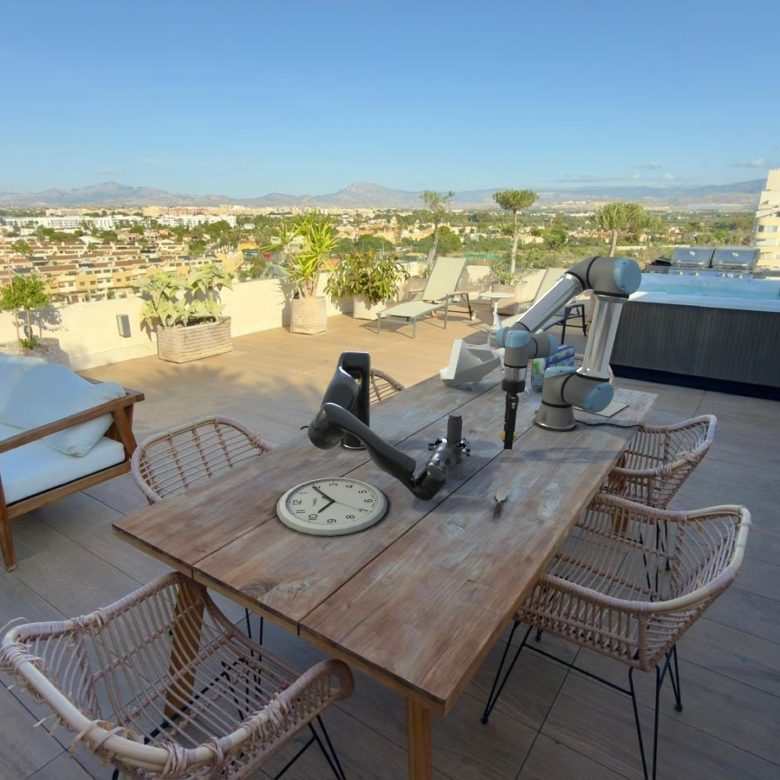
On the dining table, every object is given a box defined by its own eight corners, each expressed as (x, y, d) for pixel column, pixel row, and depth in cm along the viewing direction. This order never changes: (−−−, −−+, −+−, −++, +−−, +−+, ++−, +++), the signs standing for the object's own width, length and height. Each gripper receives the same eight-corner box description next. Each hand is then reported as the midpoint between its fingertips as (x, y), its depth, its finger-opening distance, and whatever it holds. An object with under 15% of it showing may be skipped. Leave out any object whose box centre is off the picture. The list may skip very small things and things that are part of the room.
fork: (488, 519, 137) (488, 512, 136) (497, 492, 151) (498, 485, 151) (498, 521, 136) (498, 514, 135) (507, 493, 150) (507, 487, 150)
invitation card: (608, 416, 214) (573, 407, 224) (608, 416, 214) (573, 408, 224) (628, 404, 229) (594, 396, 238) (628, 405, 229) (594, 397, 238)
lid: (497, 439, 173) (498, 433, 173) (502, 434, 178) (503, 428, 177) (513, 442, 171) (514, 437, 170) (518, 437, 176) (518, 432, 175)
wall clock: (392, 527, 129) (268, 531, 127) (391, 533, 130) (269, 537, 127) (383, 473, 158) (282, 475, 155) (383, 478, 158) (282, 480, 156)
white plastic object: (461, 429, 252) (437, 405, 227) (444, 352, 274) (420, 323, 250) (535, 404, 240) (518, 377, 215) (510, 326, 262) (492, 293, 237)
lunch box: (547, 395, 239) (552, 351, 233) (526, 390, 247) (530, 347, 240) (574, 384, 257) (579, 343, 251) (554, 380, 264) (558, 339, 258)
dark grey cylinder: (462, 461, 171) (465, 415, 166) (450, 464, 169) (453, 417, 164) (454, 455, 175) (457, 411, 170) (442, 458, 173) (445, 413, 168)
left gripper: (420, 466, 161) (434, 445, 176) (466, 473, 156) (476, 452, 171) (421, 443, 158) (435, 424, 174) (467, 450, 154) (478, 430, 169)
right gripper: (500, 370, 178) (494, 434, 184) (503, 385, 160) (497, 455, 167) (523, 372, 177) (516, 436, 183) (528, 387, 159) (521, 457, 166)
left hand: (455, 438), depth 172 cm, fingers closed on dark grey cylinder, 4 cm apart
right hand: (507, 445), depth 175 cm, fingers closed on lid, 5 cm apart
